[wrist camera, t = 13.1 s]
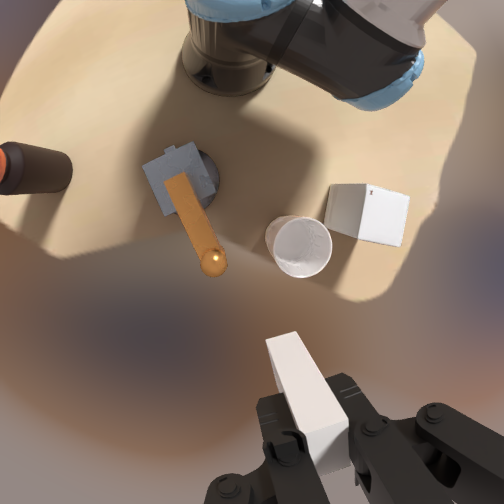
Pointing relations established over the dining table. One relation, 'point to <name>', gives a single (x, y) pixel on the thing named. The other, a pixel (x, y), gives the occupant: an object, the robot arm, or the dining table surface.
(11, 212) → the dining table surface
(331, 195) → the supplement box
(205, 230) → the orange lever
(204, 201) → the dark grey cylinder
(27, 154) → the bottle
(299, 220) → the white cup
